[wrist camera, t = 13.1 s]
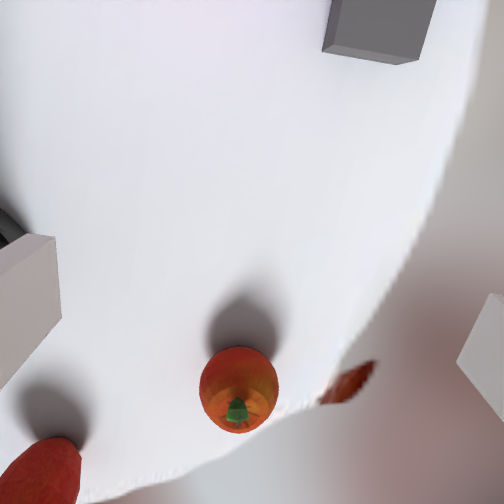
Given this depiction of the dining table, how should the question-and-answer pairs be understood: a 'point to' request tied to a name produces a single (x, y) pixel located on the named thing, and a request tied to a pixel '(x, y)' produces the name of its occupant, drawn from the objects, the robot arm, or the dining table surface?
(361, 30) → the block
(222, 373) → the fruit
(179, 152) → the dining table surface
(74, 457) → the apple
